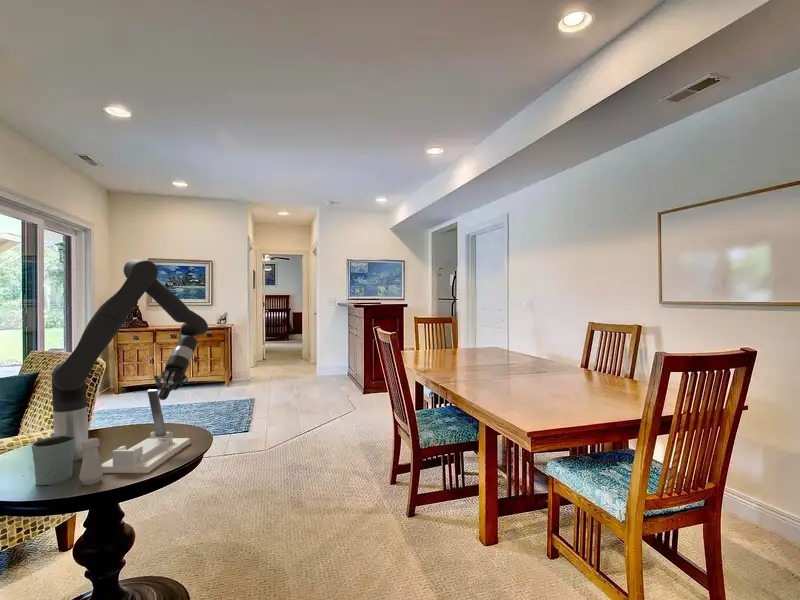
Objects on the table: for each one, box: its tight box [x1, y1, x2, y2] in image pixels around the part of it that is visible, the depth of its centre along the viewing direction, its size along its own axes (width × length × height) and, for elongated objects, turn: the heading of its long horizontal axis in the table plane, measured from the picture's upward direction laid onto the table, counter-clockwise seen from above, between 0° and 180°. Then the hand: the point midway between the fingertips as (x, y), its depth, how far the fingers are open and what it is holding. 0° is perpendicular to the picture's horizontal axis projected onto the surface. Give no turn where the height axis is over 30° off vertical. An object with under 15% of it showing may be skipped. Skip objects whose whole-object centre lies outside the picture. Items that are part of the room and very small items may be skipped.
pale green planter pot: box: [31, 435, 75, 486], centre depth 127 cm, size 10×10×12 cm
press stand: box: [101, 431, 191, 474], centre depth 143 cm, size 16×25×7 cm, turn 179°
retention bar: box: [146, 389, 167, 437], centre depth 149 cm, size 3×19×1 cm
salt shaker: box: [78, 437, 104, 486], centre depth 124 cm, size 6×6×13 cm
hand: (161, 398), depth 152 cm, fingers closed
